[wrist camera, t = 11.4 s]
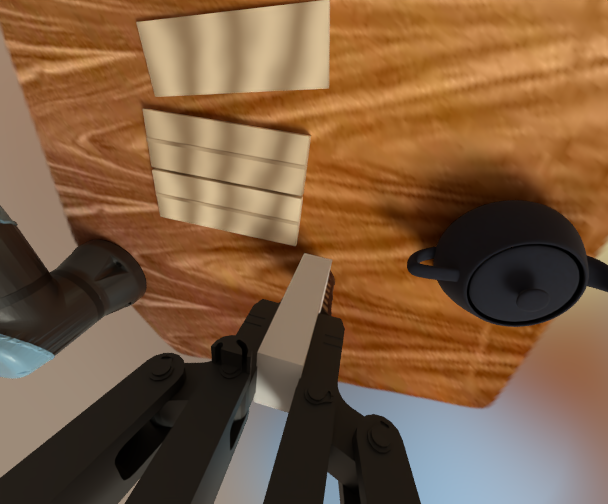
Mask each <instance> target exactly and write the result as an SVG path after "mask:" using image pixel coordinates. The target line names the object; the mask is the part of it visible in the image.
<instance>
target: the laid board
mask: <svg viewBox="0 0 608 504" xmlns="http://www.w3.org/2000/svg"><path fill="white" fill-rule="evenodd" d="M143 115H144V121H145V128H146V134H147V141H148V147H149V153H150V159H151V166H152V167H155V168H160V169H165V170H170V171H176V172H181V173H186V174H191V175H196V176H201V177H206V178H212V179H217V180H222V181H227V182H232V183H237V184H242V185H247V186H253V187H258V188H263V189H268V190H273V191H278V192H283V193H288V194H294V195H299V196H302V195H303V193H304V186H305V178H306V170H307V162H308V154H309V146H310V138H311V135H305V134H299V133H293V132H287V131H281V130H275V129H268V128H262V127H256V126H250V125H244V124H238V123H232V122H226V121H220V120H214V119H208V118H202V117H196V116H190V115H184V114H178V113H171V112H165V111H159V110H153V109H143Z"/></svg>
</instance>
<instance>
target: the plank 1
mask: <svg viewBox="0 0 608 504" xmlns="http://www.w3.org/2000/svg"><path fill="white" fill-rule="evenodd" d="M136 23H137V27H138V31H139V35H140V39H141V43H142V47H143V51H144V55H145V58H146V62H147V66H148V70H149V74H150V78H151V82H152V86H153V90H154V94H155V97H163V96H183V95H203V94H224V93H244V92H264V91H285V90H305V89H325V88H329V45H330V1H329V0H321V1H312V2H304V3H295V4H287V5H278V6H270V7H261V8H253V9H244V10H236V11H227V12H219V13H210V14H202V15H193V16H185V17H176V18H168V19H159V20H151V21H142V22H136Z"/></svg>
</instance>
